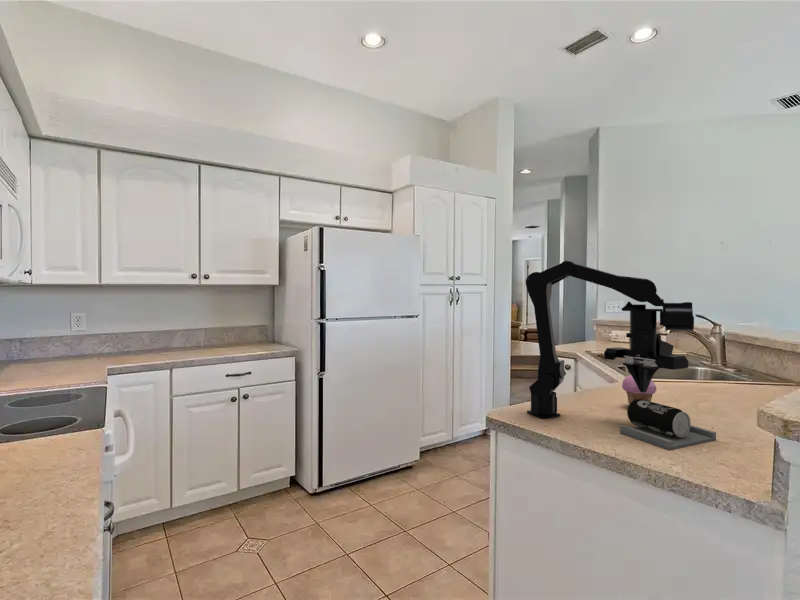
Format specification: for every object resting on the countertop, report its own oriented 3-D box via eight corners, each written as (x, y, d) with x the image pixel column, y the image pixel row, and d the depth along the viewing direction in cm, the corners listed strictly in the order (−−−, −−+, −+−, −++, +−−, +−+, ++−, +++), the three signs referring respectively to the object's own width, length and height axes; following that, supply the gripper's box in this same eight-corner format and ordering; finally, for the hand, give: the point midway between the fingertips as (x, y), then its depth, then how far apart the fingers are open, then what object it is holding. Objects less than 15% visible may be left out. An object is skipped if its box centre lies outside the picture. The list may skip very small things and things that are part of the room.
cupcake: (658, 414, 117) (658, 378, 117) (623, 410, 120) (623, 376, 120) (653, 406, 125) (653, 372, 125) (620, 403, 128) (620, 370, 128)
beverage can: (639, 393, 106) (687, 405, 95) (646, 416, 107) (694, 430, 96) (622, 406, 104) (669, 419, 93) (629, 429, 105) (676, 444, 94)
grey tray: (669, 450, 90) (669, 441, 90) (620, 433, 101) (620, 425, 101) (716, 439, 96) (716, 432, 96) (665, 425, 107) (665, 417, 107)
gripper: (703, 331, 98) (703, 397, 98) (632, 325, 115) (632, 382, 116) (672, 333, 94) (671, 402, 94) (602, 327, 111) (602, 386, 111)
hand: (643, 392), depth 104 cm, fingers closed
